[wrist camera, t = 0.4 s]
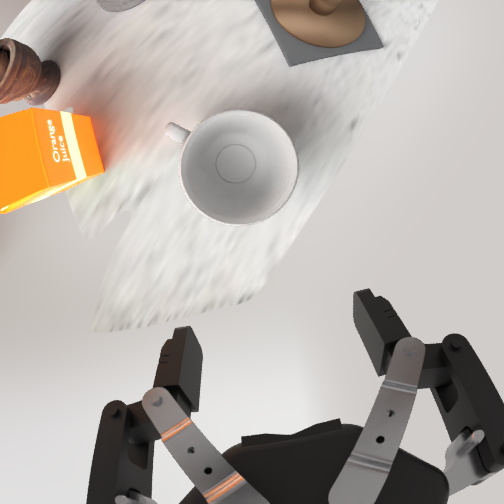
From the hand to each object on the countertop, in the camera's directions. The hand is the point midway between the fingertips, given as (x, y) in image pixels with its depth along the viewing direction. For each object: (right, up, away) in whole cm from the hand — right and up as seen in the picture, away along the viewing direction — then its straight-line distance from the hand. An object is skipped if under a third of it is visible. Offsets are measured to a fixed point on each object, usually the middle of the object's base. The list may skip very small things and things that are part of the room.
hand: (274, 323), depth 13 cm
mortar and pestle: (-34, +31, +14) cm, 48 cm away
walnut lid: (+8, +38, +15) cm, 42 cm away
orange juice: (-26, +17, +20) cm, 37 cm away
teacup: (-4, +16, +23) cm, 28 cm away
